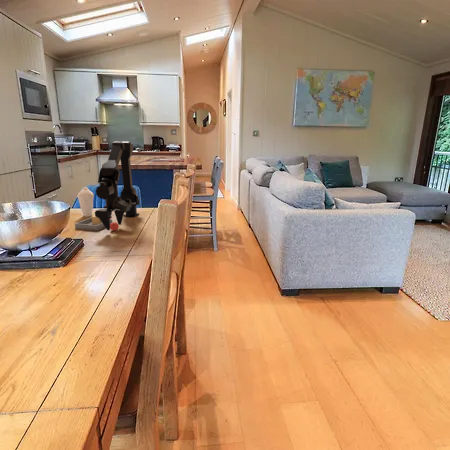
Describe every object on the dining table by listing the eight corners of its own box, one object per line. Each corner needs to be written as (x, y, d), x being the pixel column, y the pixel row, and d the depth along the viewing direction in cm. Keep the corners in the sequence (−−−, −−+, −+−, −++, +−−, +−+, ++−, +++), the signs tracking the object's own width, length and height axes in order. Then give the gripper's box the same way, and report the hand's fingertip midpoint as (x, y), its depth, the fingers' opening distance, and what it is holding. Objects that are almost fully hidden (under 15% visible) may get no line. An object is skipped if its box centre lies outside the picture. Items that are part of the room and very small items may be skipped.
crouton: (97, 222, 156) (96, 214, 155) (104, 222, 155) (103, 215, 154) (92, 224, 153) (91, 216, 151) (99, 224, 152) (98, 217, 150)
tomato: (113, 229, 148) (112, 220, 147) (120, 229, 147) (120, 221, 146) (108, 231, 144) (107, 223, 143) (115, 232, 143) (115, 223, 142)
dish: (91, 222, 158) (91, 217, 158) (112, 224, 156) (112, 219, 155) (75, 228, 147) (74, 223, 146) (97, 231, 144) (96, 225, 144)
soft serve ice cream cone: (91, 217, 166) (88, 188, 161) (76, 217, 166) (72, 187, 161) (98, 213, 174) (95, 185, 169) (83, 213, 174) (80, 185, 169)
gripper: (115, 199, 130) (118, 235, 135) (138, 192, 148) (139, 223, 152) (92, 197, 133) (95, 232, 137) (117, 190, 150) (119, 221, 155)
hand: (114, 227), depth 145 cm, fingers open, 9 cm apart
